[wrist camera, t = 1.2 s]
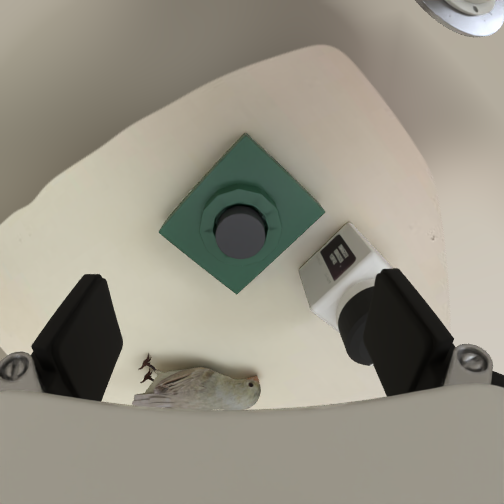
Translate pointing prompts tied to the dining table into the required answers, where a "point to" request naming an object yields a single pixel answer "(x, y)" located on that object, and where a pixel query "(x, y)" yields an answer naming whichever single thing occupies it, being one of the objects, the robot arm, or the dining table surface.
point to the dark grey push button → (240, 232)
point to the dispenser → (241, 194)
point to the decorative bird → (197, 390)
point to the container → (344, 286)
